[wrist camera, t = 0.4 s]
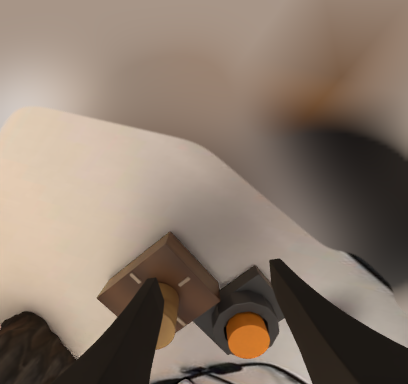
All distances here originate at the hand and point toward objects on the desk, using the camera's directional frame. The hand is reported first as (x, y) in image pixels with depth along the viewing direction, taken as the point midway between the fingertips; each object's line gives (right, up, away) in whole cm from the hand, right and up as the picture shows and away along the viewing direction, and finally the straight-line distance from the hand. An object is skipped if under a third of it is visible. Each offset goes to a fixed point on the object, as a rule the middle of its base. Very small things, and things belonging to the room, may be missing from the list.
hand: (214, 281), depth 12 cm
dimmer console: (-6, -5, +12) cm, 14 cm away
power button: (+4, -10, +10) cm, 14 cm away
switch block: (+4, -9, +13) cm, 16 cm away
